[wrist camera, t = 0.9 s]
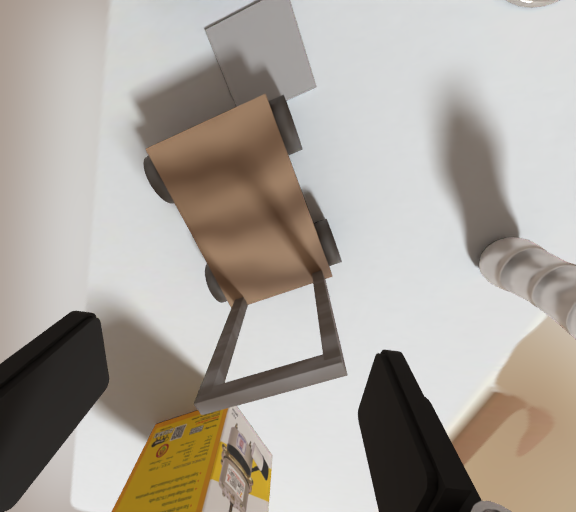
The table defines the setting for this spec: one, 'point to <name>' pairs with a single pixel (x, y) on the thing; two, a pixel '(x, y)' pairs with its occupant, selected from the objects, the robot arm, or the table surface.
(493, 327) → the table surface
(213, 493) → the packaging box
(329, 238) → the trolley
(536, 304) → the plastic bottle
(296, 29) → the mat
